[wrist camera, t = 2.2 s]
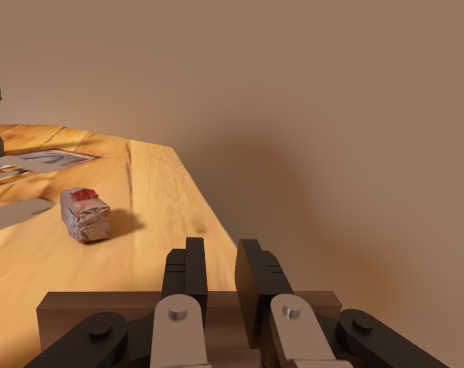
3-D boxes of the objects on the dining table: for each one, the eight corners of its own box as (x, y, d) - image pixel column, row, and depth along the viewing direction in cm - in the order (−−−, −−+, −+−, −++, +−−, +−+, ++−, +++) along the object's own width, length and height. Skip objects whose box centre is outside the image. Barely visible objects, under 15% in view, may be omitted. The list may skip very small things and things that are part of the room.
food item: (116, 239, 60) (115, 197, 57) (76, 251, 55) (73, 205, 52) (92, 216, 69) (90, 178, 66) (55, 224, 64) (51, 183, 61)
